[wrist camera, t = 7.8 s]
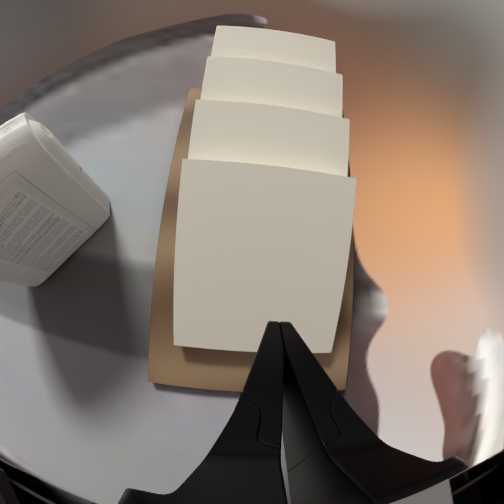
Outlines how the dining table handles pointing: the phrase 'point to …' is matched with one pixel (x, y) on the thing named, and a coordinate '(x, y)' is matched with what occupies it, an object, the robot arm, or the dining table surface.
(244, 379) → the walnut board
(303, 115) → the domino
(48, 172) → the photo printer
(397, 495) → the robot arm
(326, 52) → the domino
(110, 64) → the dining table surface
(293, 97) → the domino
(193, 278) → the domino
